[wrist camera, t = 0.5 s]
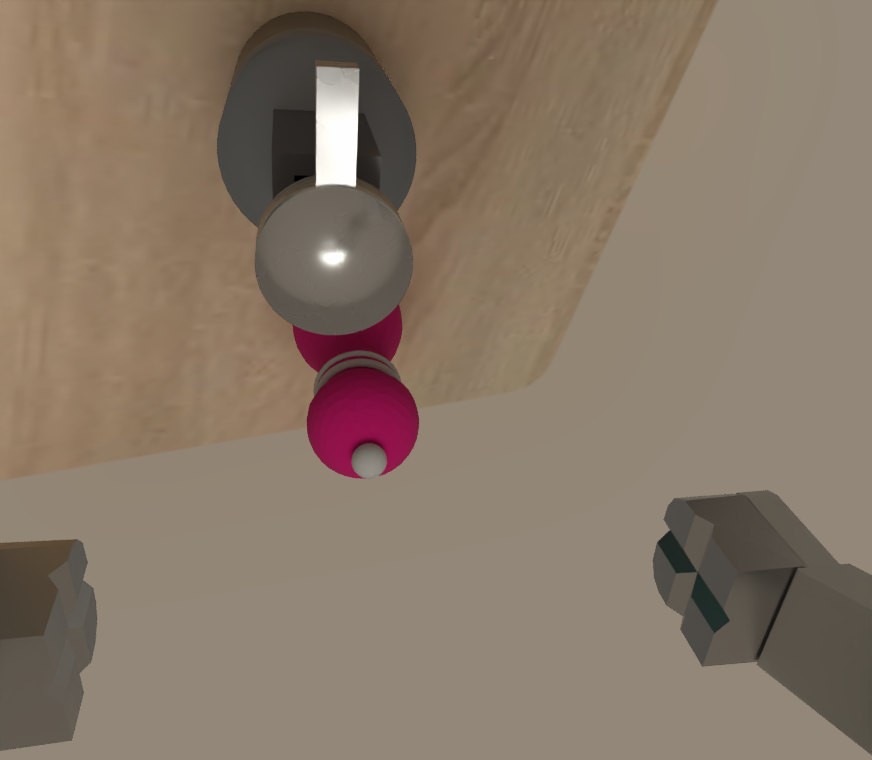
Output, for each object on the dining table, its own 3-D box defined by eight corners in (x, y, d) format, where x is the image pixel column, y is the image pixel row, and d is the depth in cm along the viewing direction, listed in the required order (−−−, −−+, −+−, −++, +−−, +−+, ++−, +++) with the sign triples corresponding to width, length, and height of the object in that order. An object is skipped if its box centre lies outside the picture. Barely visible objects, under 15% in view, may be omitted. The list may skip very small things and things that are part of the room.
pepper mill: (312, 233, 51) (327, 393, 34) (409, 268, 54) (467, 433, 37) (277, 323, 54) (275, 510, 37) (371, 352, 57) (408, 539, 40)
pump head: (255, 22, 28) (246, 64, 21) (390, 32, 29) (427, 75, 22) (263, 239, 32) (257, 335, 25) (380, 241, 33) (407, 334, 26)
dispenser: (229, 5, 43) (194, 75, 26) (386, 17, 45) (453, 90, 27) (237, 163, 48) (211, 313, 30) (379, 168, 50) (432, 313, 32)
